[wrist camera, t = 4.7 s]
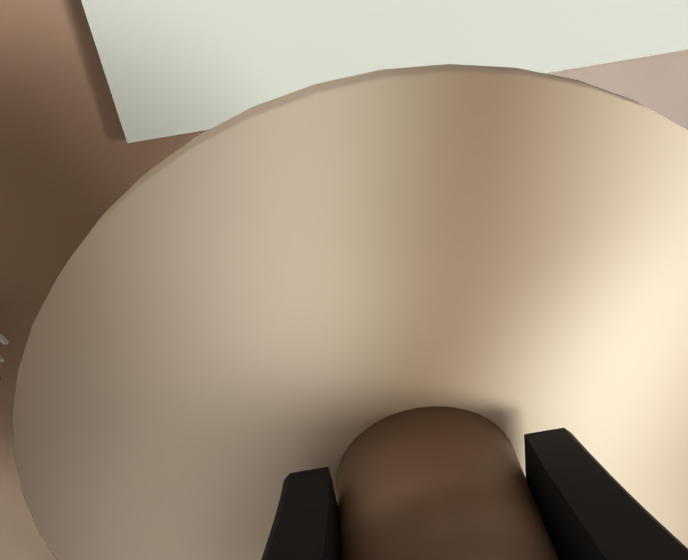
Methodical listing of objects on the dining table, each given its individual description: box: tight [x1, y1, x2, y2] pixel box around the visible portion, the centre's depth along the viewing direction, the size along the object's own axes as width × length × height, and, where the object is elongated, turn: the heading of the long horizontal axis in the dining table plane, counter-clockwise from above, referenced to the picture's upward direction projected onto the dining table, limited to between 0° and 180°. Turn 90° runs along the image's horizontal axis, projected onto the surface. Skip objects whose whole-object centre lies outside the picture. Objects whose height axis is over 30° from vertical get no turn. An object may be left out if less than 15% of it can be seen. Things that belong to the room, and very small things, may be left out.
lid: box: [12, 64, 688, 560], centre depth 10 cm, size 13×13×4 cm
